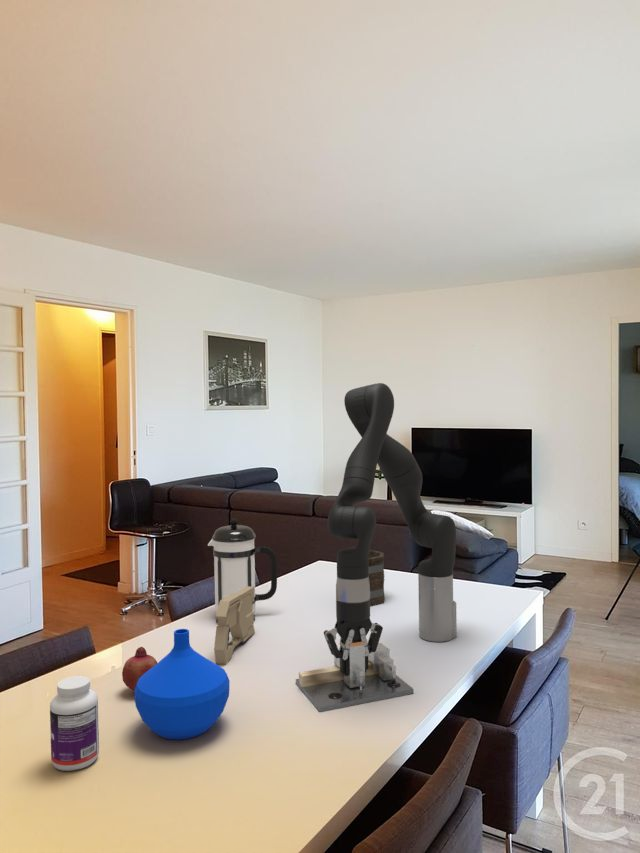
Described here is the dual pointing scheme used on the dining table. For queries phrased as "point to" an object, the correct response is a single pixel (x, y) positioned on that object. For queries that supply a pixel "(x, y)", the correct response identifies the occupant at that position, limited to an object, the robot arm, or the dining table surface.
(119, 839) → the dining table surface
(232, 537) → the coffee press
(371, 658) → the fixed leg
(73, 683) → the pill bottle
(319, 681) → the divider rail
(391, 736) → the dining table surface
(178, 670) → the vase
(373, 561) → the mug
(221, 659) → the gun
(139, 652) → the fruit
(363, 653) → the slide leg
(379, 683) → the bolt plate
